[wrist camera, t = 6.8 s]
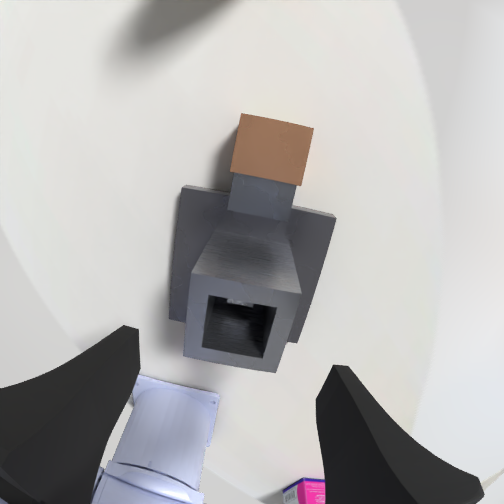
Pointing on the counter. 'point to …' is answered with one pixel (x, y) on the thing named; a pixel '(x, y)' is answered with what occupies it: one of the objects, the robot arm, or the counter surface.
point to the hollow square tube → (243, 289)
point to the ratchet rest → (256, 210)
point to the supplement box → (305, 492)
